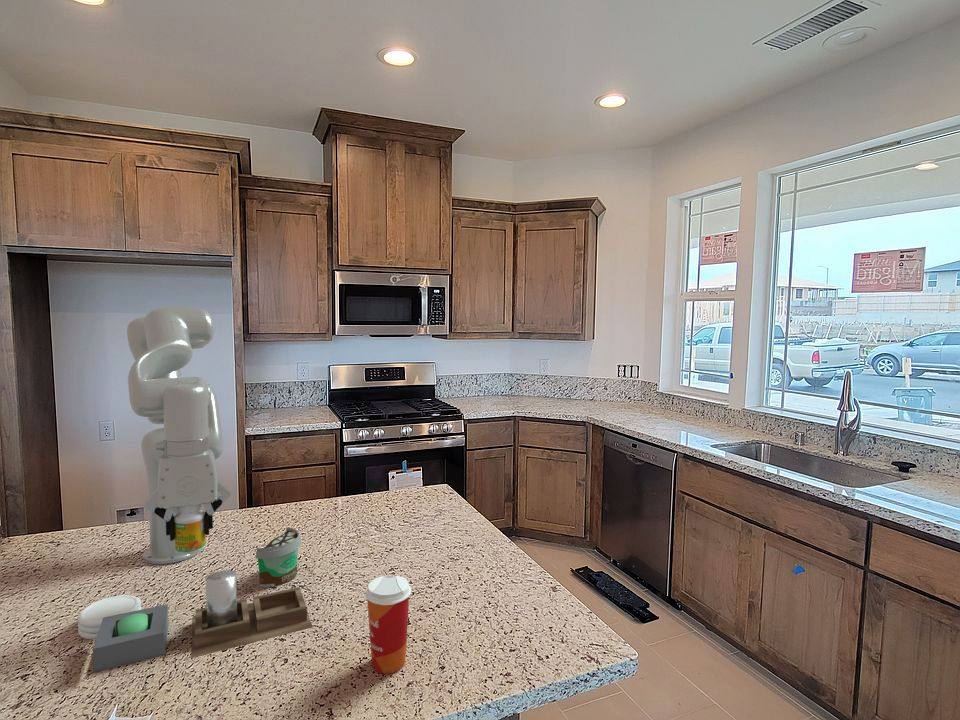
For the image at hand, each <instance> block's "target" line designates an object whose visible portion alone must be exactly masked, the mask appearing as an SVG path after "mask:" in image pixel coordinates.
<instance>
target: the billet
mask: <svg viewBox="0 0 960 720" xmlns="http://www.w3.org/2000/svg"><path fill="white" fill-rule="evenodd" d="M205 593H206V594H205V595H206V597H205V598H206V607H207V628H208V629H209V628H213V627H217V626H222V625H226V624H230V623H234V622H237V601H238V600H237V597H238V596H237V573H236V572H235V571H233V570H228V569H227V570H226V569H225V570H220V571H215V572H213V573H211V574H209V575H208V576H206V578H205Z"/></svg>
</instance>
